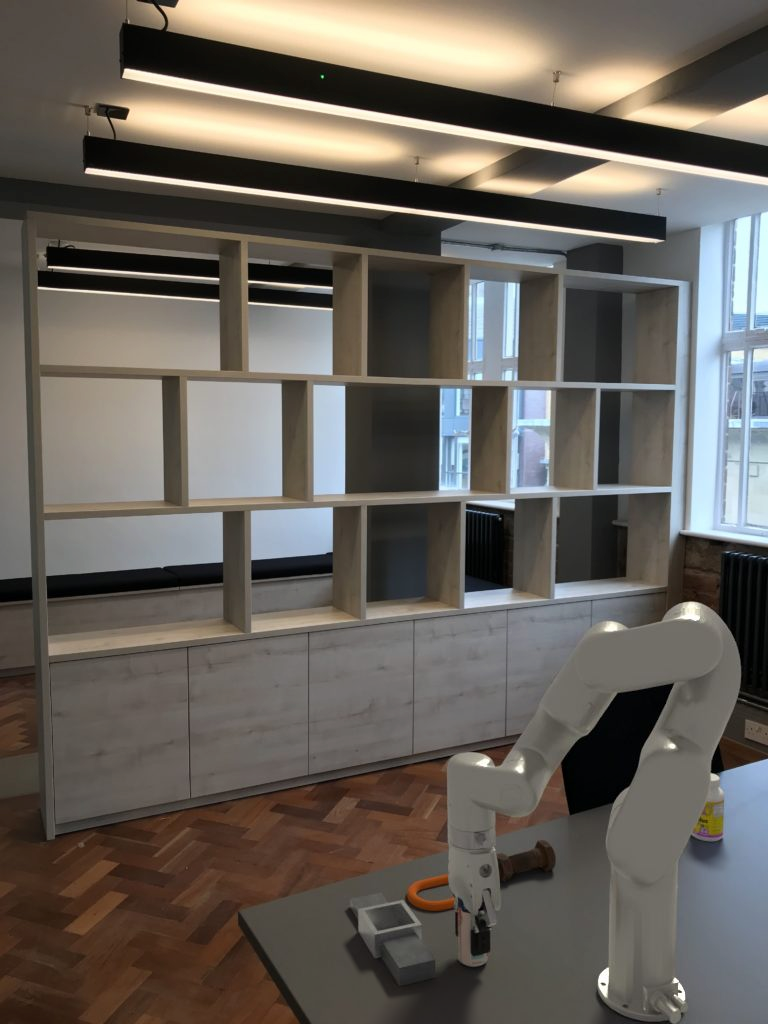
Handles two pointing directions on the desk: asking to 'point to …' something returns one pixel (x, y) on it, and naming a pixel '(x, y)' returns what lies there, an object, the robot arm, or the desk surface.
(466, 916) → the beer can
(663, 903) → the robot arm
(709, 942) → the desk surface
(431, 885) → the metal ring
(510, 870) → the bolt
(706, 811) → the supplement bottle
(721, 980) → the desk surface
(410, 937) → the bar with square collar
